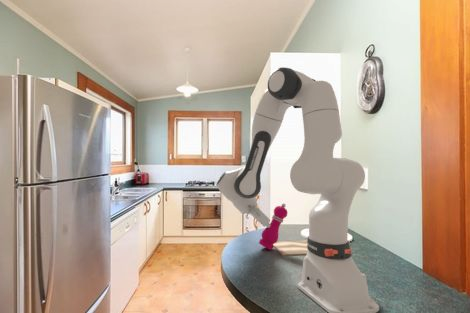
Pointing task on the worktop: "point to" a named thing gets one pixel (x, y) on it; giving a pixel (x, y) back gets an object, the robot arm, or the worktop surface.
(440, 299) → the worktop surface
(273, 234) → the pepper mill
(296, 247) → the wooden board
